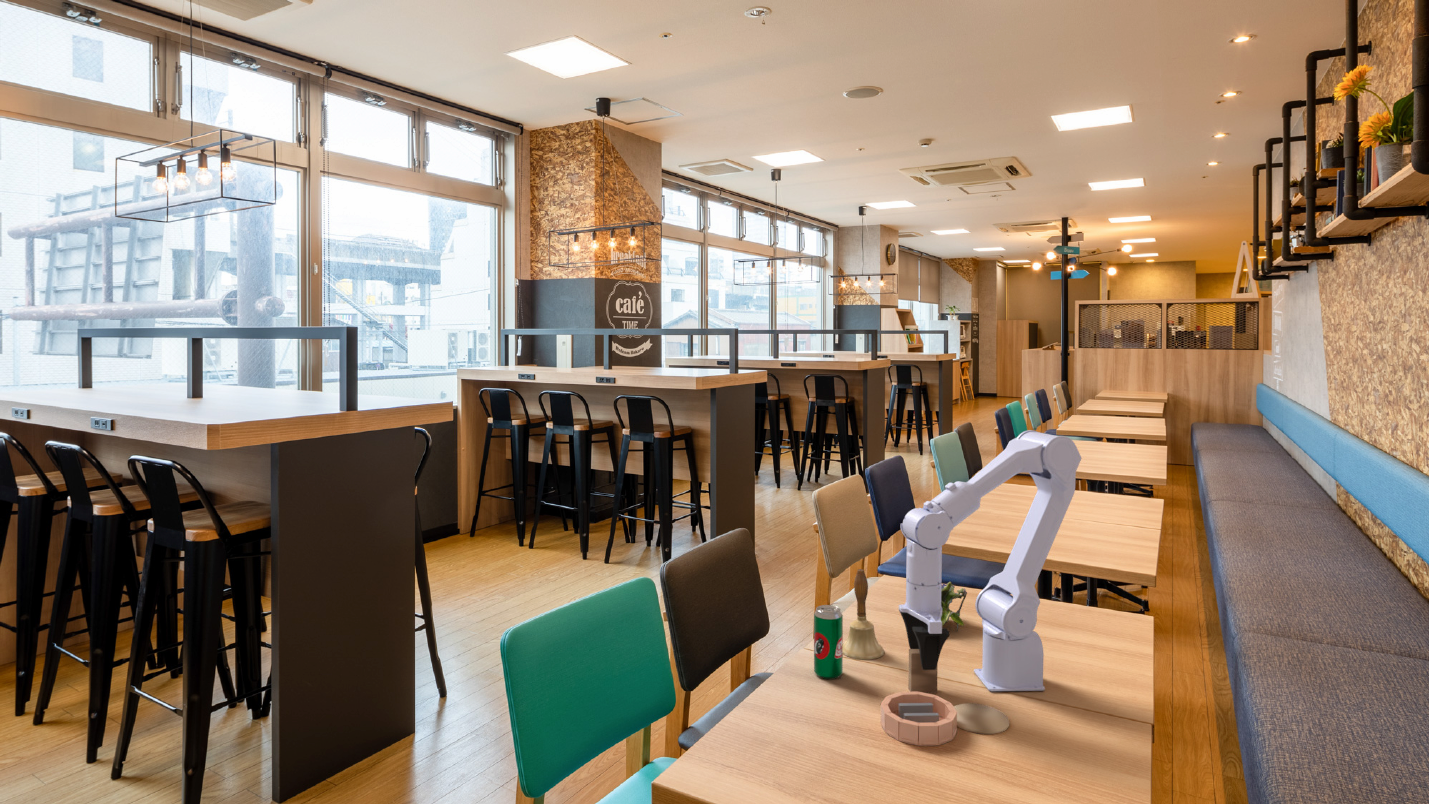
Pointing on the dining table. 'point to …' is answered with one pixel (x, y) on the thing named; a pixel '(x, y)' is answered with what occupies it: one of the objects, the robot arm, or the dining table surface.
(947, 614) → the green leafy plant
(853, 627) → the hand bell
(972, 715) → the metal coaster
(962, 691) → the dining table surface
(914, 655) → the brown rectangular block
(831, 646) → the soda can
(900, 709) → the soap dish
